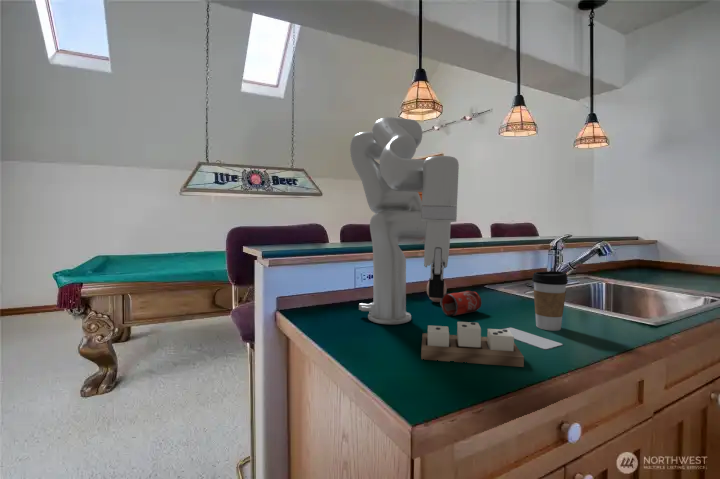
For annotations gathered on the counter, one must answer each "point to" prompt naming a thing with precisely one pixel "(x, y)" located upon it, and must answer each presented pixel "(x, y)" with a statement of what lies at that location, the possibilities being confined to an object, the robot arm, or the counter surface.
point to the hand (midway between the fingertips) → (436, 296)
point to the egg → (436, 298)
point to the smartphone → (533, 339)
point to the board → (471, 353)
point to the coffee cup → (549, 298)
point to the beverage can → (460, 303)
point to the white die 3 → (500, 340)
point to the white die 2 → (468, 334)
